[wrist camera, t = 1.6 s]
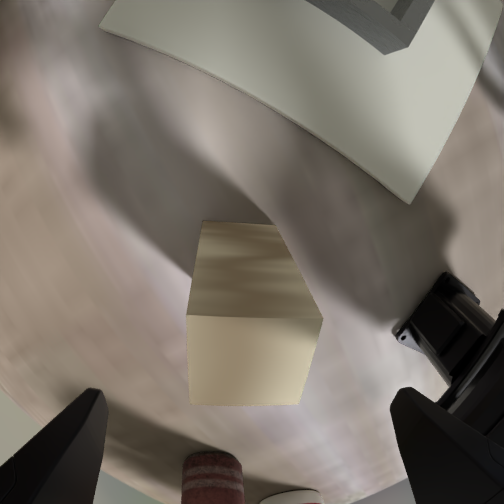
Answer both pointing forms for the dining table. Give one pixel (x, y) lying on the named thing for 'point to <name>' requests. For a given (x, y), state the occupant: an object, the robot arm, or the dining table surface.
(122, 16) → the socket board
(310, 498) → the fruit juice
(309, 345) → the square peg
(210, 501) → the can
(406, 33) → the square socket
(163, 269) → the dining table surface
